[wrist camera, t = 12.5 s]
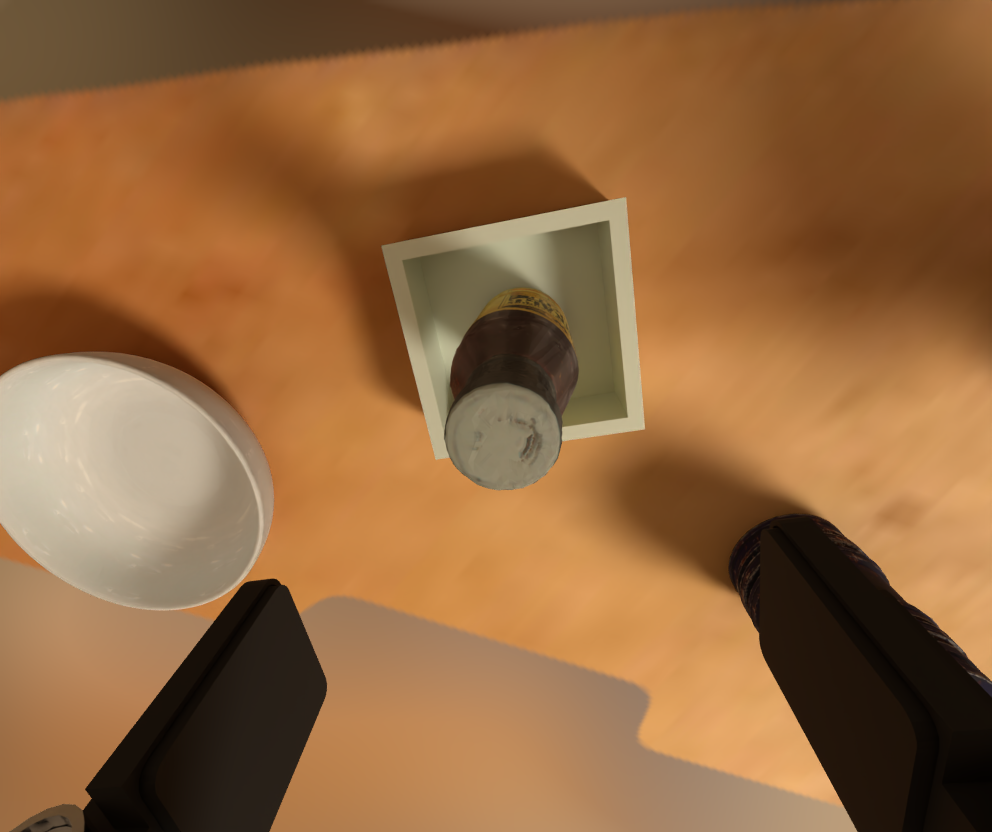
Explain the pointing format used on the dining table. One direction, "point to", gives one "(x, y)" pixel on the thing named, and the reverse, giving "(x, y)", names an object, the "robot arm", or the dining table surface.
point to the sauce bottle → (511, 390)
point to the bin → (539, 265)
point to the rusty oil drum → (748, 563)
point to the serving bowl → (131, 479)
